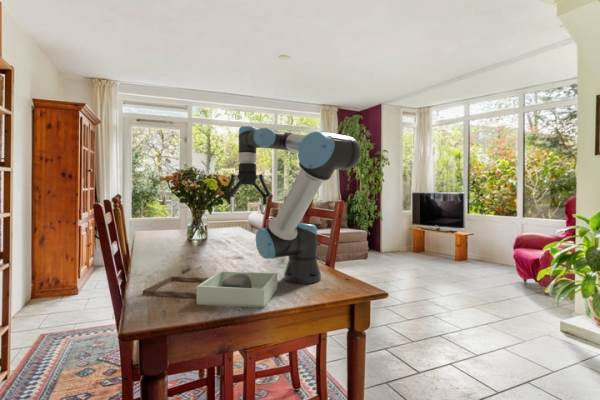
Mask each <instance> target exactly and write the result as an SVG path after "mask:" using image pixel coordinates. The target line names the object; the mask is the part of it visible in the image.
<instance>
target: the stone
mask: <svg viewBox="0 0 600 400" xmlns="http://www.w3.org/2000/svg"><path fill="white" fill-rule="evenodd" d="M221 287H236V288H252V284H251V280H250V278H249V276H248V275H245V274H236V275H232V276H230V277H229V278H227V279H225V280H224V281H223V282H222V285H221Z"/></svg>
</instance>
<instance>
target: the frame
mask: <svg viewBox="0 0 600 400" xmlns="http://www.w3.org/2000/svg"><path fill="white" fill-rule="evenodd" d="M209 278H210V277H200V276H199V277H196V276H182V275H181V276H179V275H177V276H175V275H171V276H169V277H167V278H165V279H163V280H161V281H159V282H157V283H155V284H153V285H151V286H149V287H147V288H145V289H143V290H142V295H143V296H158V297H160V296H161V297H174V298H175V297H176V298H178V297H179V298H193V299H194V298H195V299H197V291H193V292H192V291H179V290H178V291H177V290H175V291H174V290H158V289H159V288H161V287H164V286H165V285H167V284H168V283H171V282H173V281H174V282H175V281H177V282H194V283H195V282H198V283H203V282H204V281H206V280H207V279H209Z"/></svg>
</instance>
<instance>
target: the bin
mask: <svg viewBox="0 0 600 400" xmlns="http://www.w3.org/2000/svg"><path fill="white" fill-rule="evenodd" d="M236 274H245V275H248V276H249V278H250V280H251V284H252V288H236V287H221V285H222V282H223V281H224V280H225V279H227V278H229V277H230V276H232V275H236ZM208 278H209V279H207V280H206V281H204V282H200V284H198V285H197V286H196V292H197V298H196V305H197V306H198V305H199V306H200V305H201V306H216V307H233V308H252V309H253V308H254V309H255V308H256V309H265V307H266V306H267V305H268V303H269V301H271V299H272V297H273V296H274V295H275V293H276V291H277V290H278V273H275V272H274V273H273V272H251V271H232V270H231V271H228V270H220V271H218V272H216V273H214V274H213V275H212V276H210V277H208Z"/></svg>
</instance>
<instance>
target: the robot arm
mask: <svg viewBox="0 0 600 400" xmlns="http://www.w3.org/2000/svg"><path fill="white" fill-rule="evenodd" d="M237 137H238V163H239V164H238V174H235V173H233V174H232V173H231V176H230V180H229V182H228V183H227V187H226V188H225V191H224V192H223V195H224V196H227V203H228V205H230V209H229V213H234V212H235V197H234V195H235V193H236V192H237V191H238V190H239V189H240V187H241V186H245V185H248V186H251V185H252V186H253V187H255V189H256V190H257V192H258V193H259V195H261V197H260V214H264V213H265V206H266V205H267V201H268V200H267V199H268V197H270V196H271V195H272V194H271V191H270V189H269V188H268V185H267V183H266V181H265V179H264V174H262V173H261V174H258V175H257V164H256V163H257V149H260V148H261V149H269V150H270V149H272V150H280V151H281V150H282V151H287V152H293V153H296V154H297V158H298V166H299V168H300V169H299V172H298V173H297V176H296V178H295V179H294V182H293V184H292V185H291V187H290V190H289V191H288V192H287V193H288V194H287V195H286V197H285V199H284V201H283V203H282V204H281V207H280V209H279V210H278V212H277V215H276V216H275V217H274V218H271V219H270V220H269V221H268V224H267V225H266V227H262V228H258V229H257V231H256V234H255V247H256V250H257V251H258V254H259V255H260V256H261V257H262V258H263V259H268V260H269V259H271V260H273V259H279V258H283V257H284V258H285V257H288V261H287V264H286V268H285V269H284V275H283V279H284V281H286V282H288V283H293V284H303V285H304V284H312V283H317V282H318V283H319V282H320V281H321V280H322V279H321V278H322V273H321V270H320V266H319V264H318V227H317V226H316V225H315V224H311V223H310V224H308V223H303V222H301V221H302V220H303V217H304V216H305V213H306V212H307V210H308V209H309V207H310V205H311V203H312V201H313V200H314V198H315V196H316V195H317V192H318V191H319V189H320V187H321V185H322V183H324V182H327V181H329V180H330V179H331V177H332V175H333V174H334V172H335V171H336V170H339V171H344V170H345V171H346V170H350V169H352V168H354V167H355V166H356V165H357V164H358V163H359V161H360V160H361V156H362V148H361V145H360V144H359V142H358V141H357V139H355V138H354V137H352V136H350V135H345V134H344V135H343V134H338V133H331V132H328V131H312V132H309V133H307V134H306V135H304V134H298V133H294V132H286V131H277V130H272V128H270V127H261V128H260V127H259V128H256V127H255V126H250V125H248V126H247V125H245V126H244V125H243V126H240V127H239V129H238V136H237ZM237 179H238V180H239V181H237V183H236V185H234V183H235V181H236V180H237ZM257 179H258V180H259V181H260V183H261V185H262V187H261V186H260V185H259V184H258V182H257V181H256V180H257ZM233 185H234V187H233ZM232 187H233V188H232ZM262 188H263V189H262Z"/></svg>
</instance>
